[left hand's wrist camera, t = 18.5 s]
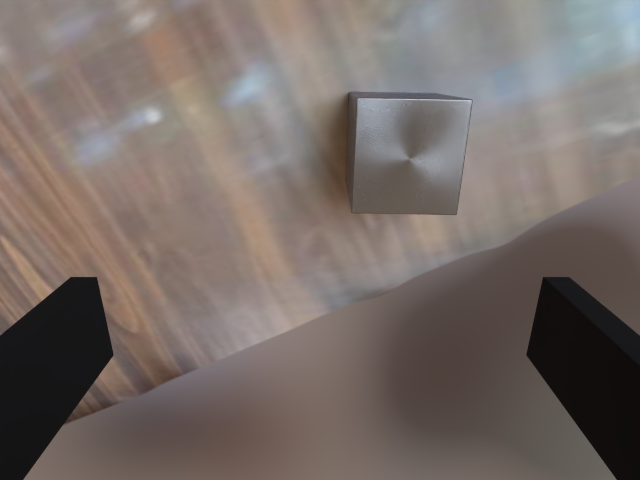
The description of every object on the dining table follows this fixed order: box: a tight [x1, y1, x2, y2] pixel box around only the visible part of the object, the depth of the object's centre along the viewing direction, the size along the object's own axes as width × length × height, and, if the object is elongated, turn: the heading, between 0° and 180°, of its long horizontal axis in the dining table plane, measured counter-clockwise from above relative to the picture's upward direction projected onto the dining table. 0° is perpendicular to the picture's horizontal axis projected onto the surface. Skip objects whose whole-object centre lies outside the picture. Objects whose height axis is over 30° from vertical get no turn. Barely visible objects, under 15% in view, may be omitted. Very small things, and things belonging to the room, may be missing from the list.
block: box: [346, 92, 472, 215], centre depth 35 cm, size 8×8×10 cm
